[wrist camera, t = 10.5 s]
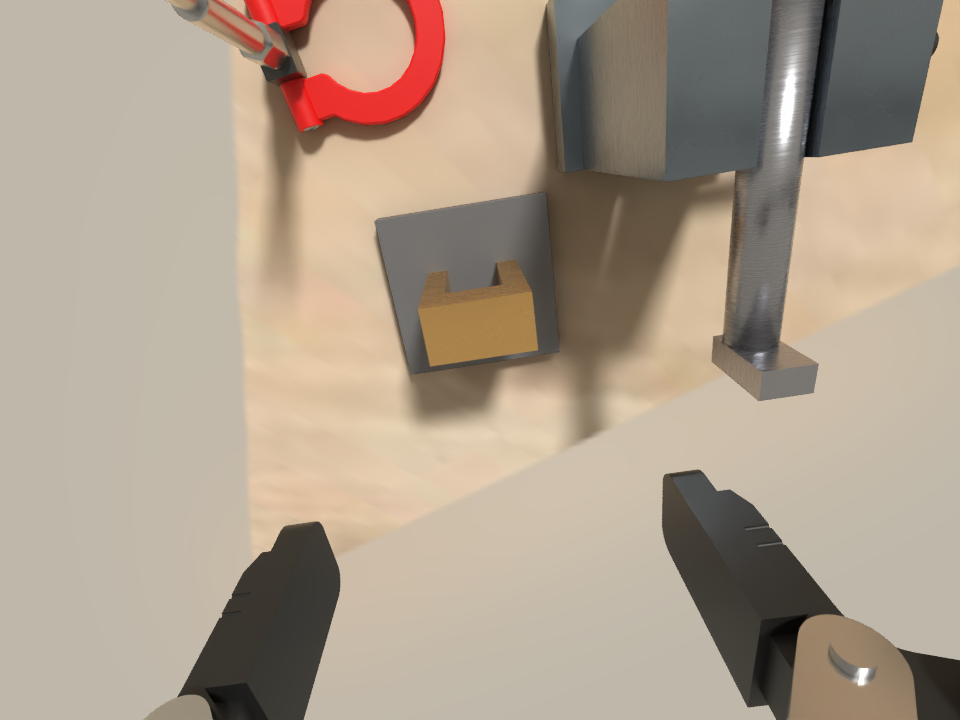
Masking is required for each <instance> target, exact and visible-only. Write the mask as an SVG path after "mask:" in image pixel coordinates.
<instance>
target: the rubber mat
mask: <svg viewBox="0 0 960 720" xmlns="http://www.w3.org/2000/svg"><path fill="white" fill-rule="evenodd" d="M375 225H376V230H377V234H378V238H379V242H380V246H381V251H382V255H383V259H384V263H385V268H386V272H387V276H388V280H389V284H390V289H391V293H392V297H393V301H394V305H395V310H396V314H397V318H398V322H399V326H400V331H401V335H402V339H403V343H404V347H405V352H406V356H407V360H408V364H409V369H410V373H411V375H412V374H418V373H425V372H431V371H438V370H445V369H451V368H458V367H464V366H471V365H477V364H484V363H491V362H497V361H504V360H510V359H517V358H523V357H530V356H537V355H543V354H550V353H556V352H560V350H559V338H558V326H557V314H556V302H555V291H554V279H553V267H552V255H551V243H550V231H549V220H548V208H547V196H546V193H544V192H539V193H533V194H527V195H521V196H515V197H508V198H502V199H496V200H490V201H484V202H477V203H471V204H465V205H459V206H453V207H447V208H440V209H434V210H428V211H422V212H416V213H409V214H403V215H397V216H391V217H385V218H379V219H377V220H376V221H375ZM510 260H516V261H517V263H518V265H519V267H520V269H521V271H522V273H523V275H524V277H525V279H526V281H527V283H528V285H529V287H530V289H531V291H532V296H533V306H534V315H535V325H536V334H537V344H538V350H536V351H530V352H523V353H516V354H510V355H503V356H497V357H490V358H484V359H477V360H470V361H464V362H457V363H451V364H444V365H437V366H431V367H430V363H429V359H428V354H427V350H426V345H425V340H424V336H423V331H422V326H421V322H420V317H419V312H418V307H419V303H420V300H421V296H422V292H423V289H424V285H425V281H426V278H427V274H428V273H434V272H440V271H446V270H447V272H448V278H449V283H450V289H451V292H458V291H464V290H470V289H477V288H483V287H490V286H496V285H499V281H498V273H497V266H496V263H497V262H503V261H510Z"/></svg>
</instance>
